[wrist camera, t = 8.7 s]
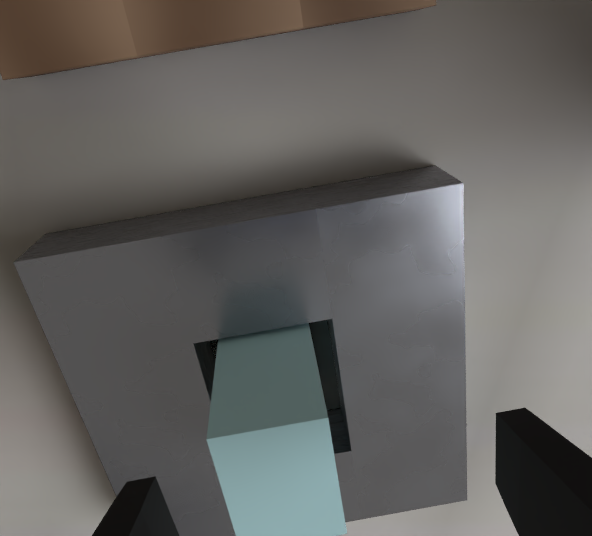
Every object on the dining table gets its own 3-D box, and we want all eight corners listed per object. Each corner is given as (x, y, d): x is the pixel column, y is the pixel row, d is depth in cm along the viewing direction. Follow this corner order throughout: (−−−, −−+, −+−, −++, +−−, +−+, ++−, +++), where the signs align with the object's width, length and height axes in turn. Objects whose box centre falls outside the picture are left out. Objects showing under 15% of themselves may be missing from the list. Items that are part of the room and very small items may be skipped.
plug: (302, 294, 19) (328, 417, 13) (318, 385, 21) (346, 533, 14) (221, 308, 19) (206, 439, 13) (244, 398, 21) (241, 552, 14)
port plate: (435, 165, 17) (463, 183, 15) (445, 455, 23) (467, 500, 21) (45, 234, 17) (13, 262, 15) (154, 508, 23) (144, 559, 21)
